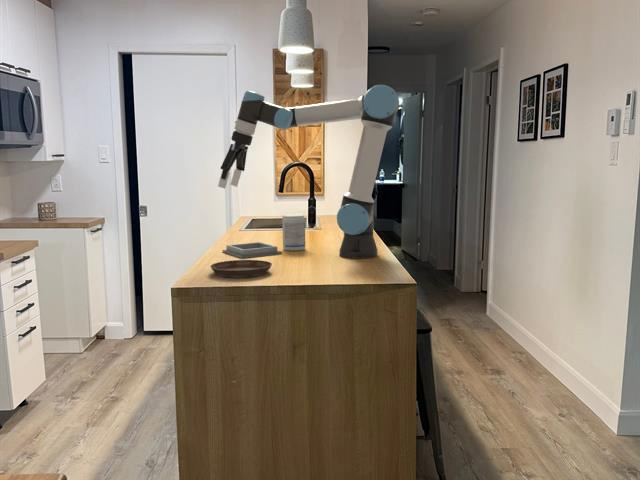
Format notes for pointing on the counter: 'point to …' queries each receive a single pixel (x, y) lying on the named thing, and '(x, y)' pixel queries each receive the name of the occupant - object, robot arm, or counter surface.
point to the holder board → (251, 250)
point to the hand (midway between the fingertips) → (227, 186)
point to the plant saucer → (241, 268)
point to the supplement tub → (293, 232)
